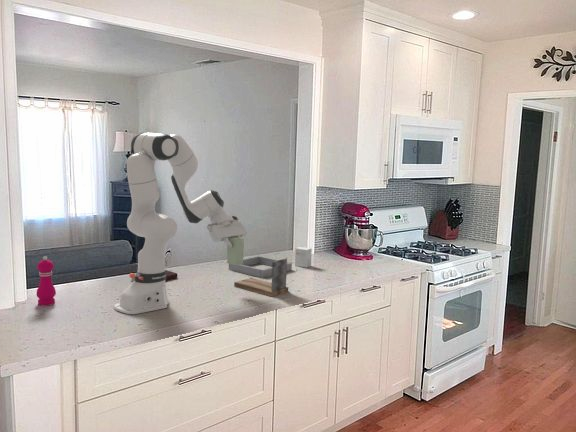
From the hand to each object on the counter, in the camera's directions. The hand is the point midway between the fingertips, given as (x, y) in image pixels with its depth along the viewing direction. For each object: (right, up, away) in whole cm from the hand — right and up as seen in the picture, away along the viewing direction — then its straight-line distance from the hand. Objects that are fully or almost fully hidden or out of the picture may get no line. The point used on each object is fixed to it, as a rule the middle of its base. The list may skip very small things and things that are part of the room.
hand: (236, 246), depth 231 cm
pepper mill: (-76, -23, -24) cm, 83 cm away
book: (-43, -19, +18) cm, 50 cm away
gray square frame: (+8, -16, +46) cm, 50 cm away
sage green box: (-1, -8, +2) cm, 8 cm away
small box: (+33, -15, +59) cm, 69 cm away
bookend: (+11, -21, +9) cm, 25 cm away
